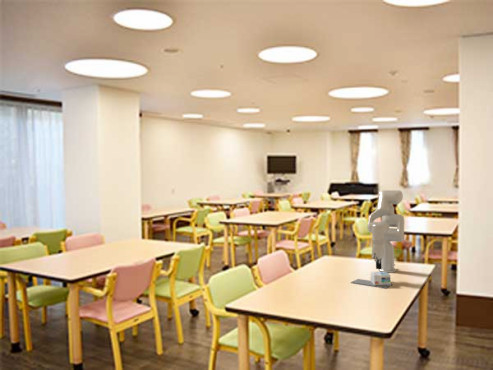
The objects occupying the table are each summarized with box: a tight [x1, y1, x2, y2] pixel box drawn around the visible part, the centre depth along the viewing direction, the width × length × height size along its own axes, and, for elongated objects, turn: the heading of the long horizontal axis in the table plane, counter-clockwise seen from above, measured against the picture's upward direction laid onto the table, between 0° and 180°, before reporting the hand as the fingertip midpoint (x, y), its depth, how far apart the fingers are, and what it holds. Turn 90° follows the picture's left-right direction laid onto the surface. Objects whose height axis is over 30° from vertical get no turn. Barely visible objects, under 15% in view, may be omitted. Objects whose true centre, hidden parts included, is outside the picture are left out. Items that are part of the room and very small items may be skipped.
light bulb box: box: [370, 271, 392, 285], centre depth 274 cm, size 11×7×11 cm
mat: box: [350, 278, 393, 290], centre depth 275 cm, size 10×24×1 cm, turn 49°
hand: (378, 268), depth 284 cm, fingers closed
